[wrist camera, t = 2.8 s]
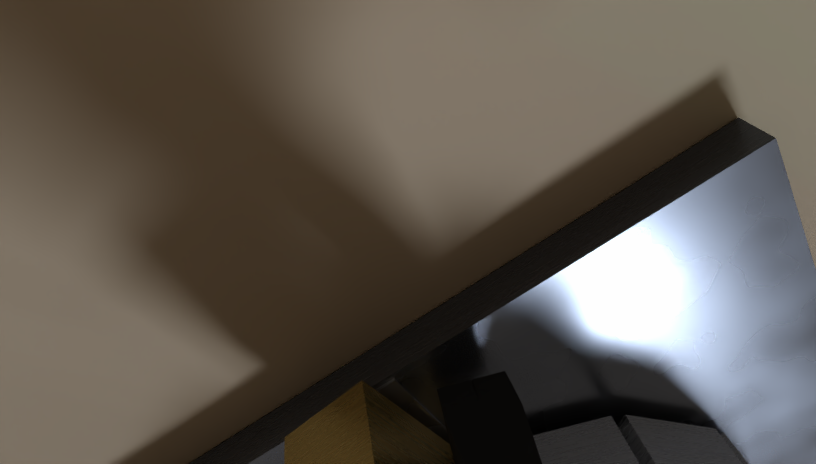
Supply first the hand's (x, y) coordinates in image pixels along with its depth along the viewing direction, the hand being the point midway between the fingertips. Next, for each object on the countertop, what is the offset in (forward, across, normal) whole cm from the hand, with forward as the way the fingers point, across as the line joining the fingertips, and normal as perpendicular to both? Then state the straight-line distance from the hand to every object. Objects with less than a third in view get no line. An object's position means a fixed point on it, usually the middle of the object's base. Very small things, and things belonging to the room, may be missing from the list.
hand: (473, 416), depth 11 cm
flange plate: (+2, -2, +7) cm, 8 cm away
